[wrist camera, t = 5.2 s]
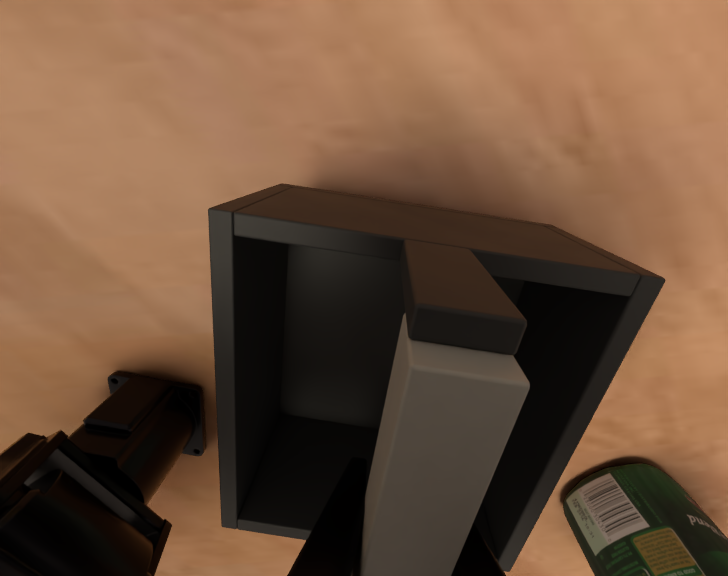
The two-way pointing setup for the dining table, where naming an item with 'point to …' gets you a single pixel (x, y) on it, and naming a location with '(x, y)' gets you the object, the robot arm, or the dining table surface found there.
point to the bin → (407, 367)
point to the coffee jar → (643, 525)
